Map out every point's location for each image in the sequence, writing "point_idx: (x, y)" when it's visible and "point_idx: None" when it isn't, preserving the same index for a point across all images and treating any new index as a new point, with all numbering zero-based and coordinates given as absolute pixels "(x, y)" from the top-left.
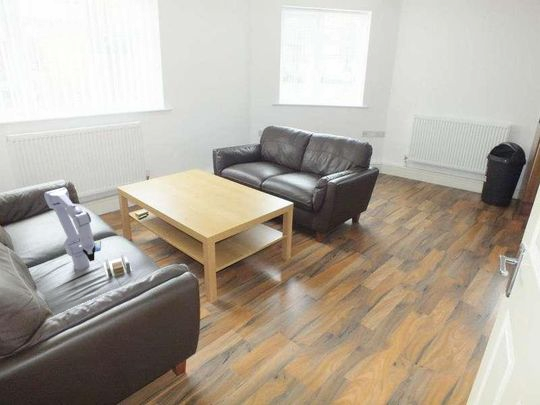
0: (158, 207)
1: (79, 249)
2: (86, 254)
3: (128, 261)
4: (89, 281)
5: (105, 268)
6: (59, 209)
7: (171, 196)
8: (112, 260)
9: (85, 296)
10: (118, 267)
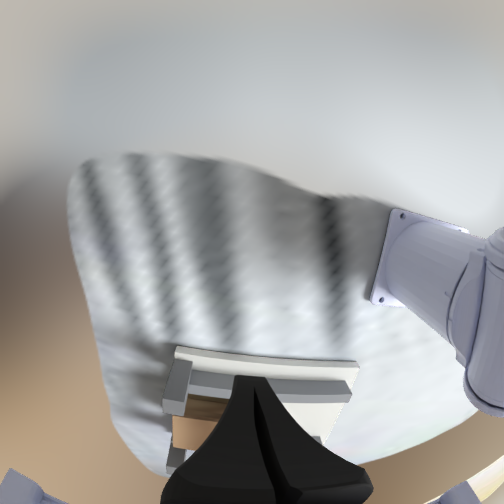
0: (474, 476)
1: (491, 336)
2: (199, 450)
3: None
4: (226, 255)
5: (290, 369)
6: None
7: (476, 486)
8: (342, 406)
9: (80, 195)
10: (174, 432)
